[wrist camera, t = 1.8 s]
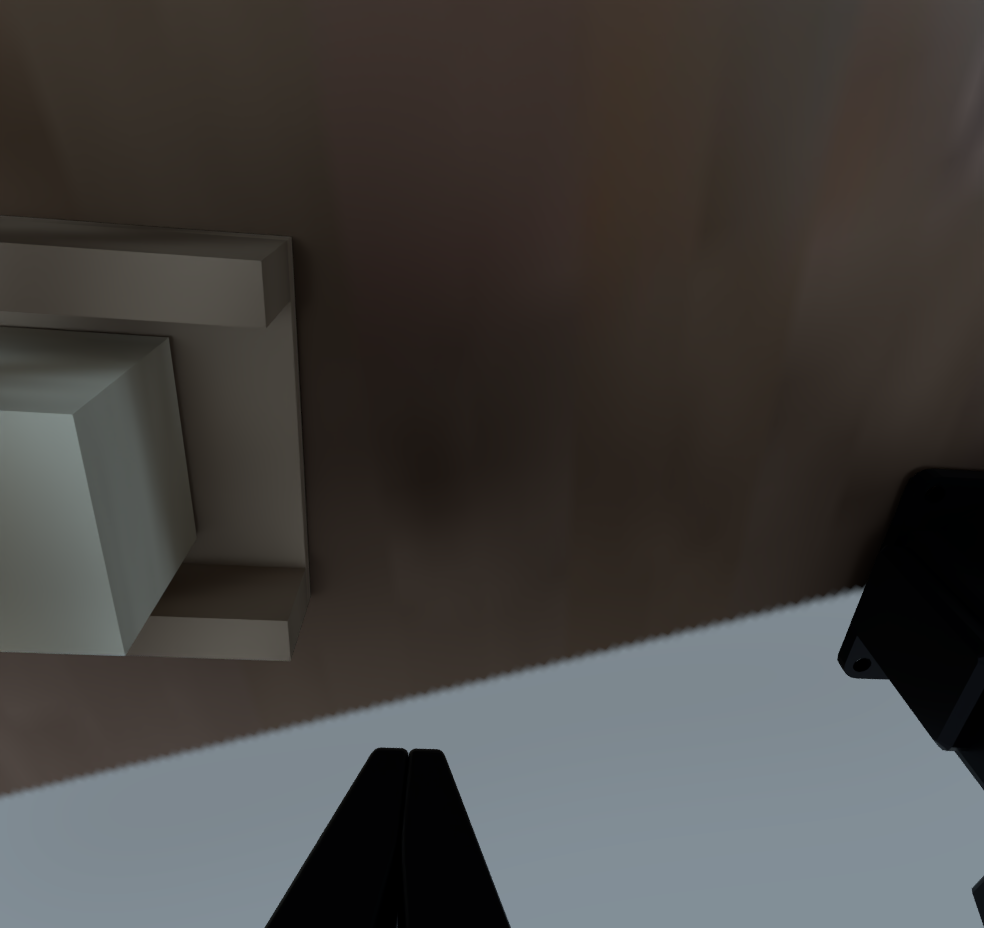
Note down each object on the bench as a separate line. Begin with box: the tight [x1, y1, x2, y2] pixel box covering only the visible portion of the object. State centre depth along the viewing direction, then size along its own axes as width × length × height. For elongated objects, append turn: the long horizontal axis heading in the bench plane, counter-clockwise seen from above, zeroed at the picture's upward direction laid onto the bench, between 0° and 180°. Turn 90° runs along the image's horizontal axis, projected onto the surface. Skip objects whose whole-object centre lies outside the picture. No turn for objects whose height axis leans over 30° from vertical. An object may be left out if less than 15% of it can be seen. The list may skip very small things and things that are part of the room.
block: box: [0, 327, 197, 656], centre depth 14 cm, size 5×5×4 cm
